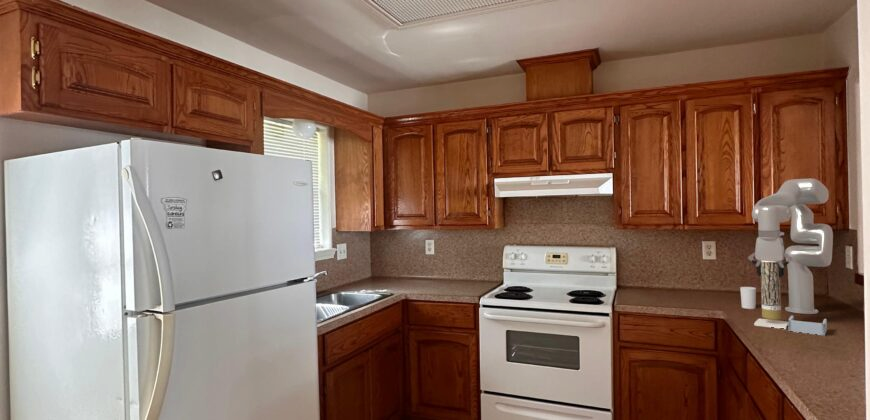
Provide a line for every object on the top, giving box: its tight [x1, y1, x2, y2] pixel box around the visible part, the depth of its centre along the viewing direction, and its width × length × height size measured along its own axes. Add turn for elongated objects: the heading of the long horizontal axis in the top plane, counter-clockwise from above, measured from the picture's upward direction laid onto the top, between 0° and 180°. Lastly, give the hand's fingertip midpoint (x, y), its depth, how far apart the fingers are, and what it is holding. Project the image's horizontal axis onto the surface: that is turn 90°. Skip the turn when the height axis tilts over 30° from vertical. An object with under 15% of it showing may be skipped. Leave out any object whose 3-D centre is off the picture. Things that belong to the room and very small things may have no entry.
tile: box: [753, 318, 788, 330], centre depth 206 cm, size 11×11×1 cm
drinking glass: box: [739, 286, 757, 310], centre depth 241 cm, size 7×7×10 cm
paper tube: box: [760, 260, 782, 321], centre depth 206 cm, size 7×7×25 cm
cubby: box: [787, 315, 828, 336], centre depth 195 cm, size 11×12×4 cm
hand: (770, 275), depth 206 cm, fingers closed on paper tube, 6 cm apart
